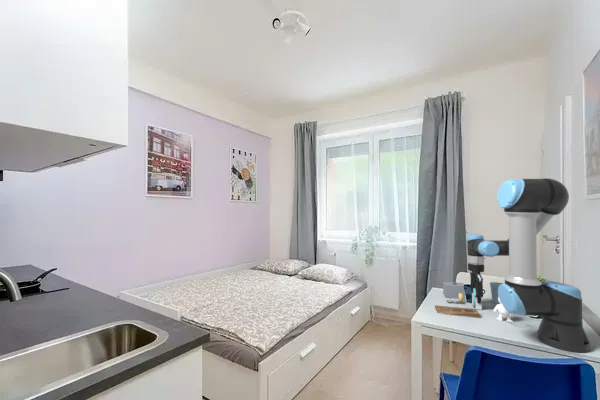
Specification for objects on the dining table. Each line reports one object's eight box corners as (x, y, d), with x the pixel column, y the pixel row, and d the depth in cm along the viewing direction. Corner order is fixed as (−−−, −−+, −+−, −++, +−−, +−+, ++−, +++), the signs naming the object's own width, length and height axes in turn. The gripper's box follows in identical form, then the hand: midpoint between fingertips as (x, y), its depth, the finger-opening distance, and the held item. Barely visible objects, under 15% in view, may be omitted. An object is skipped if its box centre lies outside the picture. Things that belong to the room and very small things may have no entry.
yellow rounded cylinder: (464, 304, 154) (464, 294, 155) (447, 302, 157) (447, 293, 157) (463, 302, 158) (462, 292, 158) (446, 300, 160) (446, 291, 160)
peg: (481, 309, 147) (480, 289, 147) (474, 308, 148) (474, 289, 148) (479, 307, 150) (478, 288, 150) (473, 306, 151) (472, 287, 151)
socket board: (480, 317, 135) (480, 314, 135) (437, 313, 141) (437, 310, 141) (475, 311, 143) (475, 308, 143) (434, 308, 149) (434, 305, 149)
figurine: (514, 320, 132) (513, 295, 132) (515, 324, 128) (515, 297, 128) (493, 317, 136) (492, 292, 136) (494, 320, 132) (493, 295, 132)
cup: (509, 303, 156) (508, 284, 156) (503, 305, 152) (503, 286, 152) (493, 299, 162) (493, 281, 163) (488, 302, 158) (487, 283, 158)
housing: (466, 299, 163) (466, 284, 163) (445, 297, 166) (445, 283, 166) (463, 295, 170) (463, 281, 171) (443, 293, 174) (443, 280, 174)
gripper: (489, 267, 140) (491, 314, 139) (478, 260, 157) (479, 302, 157) (472, 266, 142) (474, 312, 141) (463, 260, 160) (464, 301, 159)
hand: (477, 307), depth 149 cm, fingers open, 5 cm apart
